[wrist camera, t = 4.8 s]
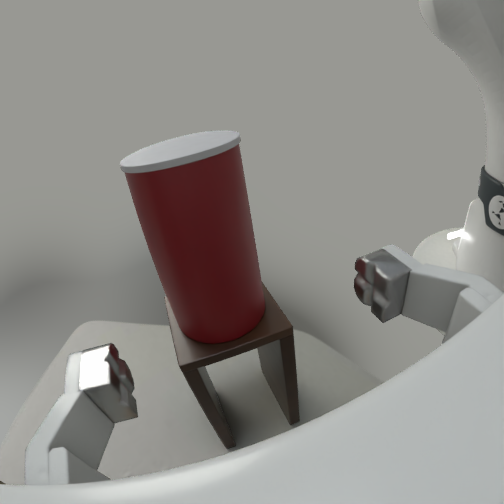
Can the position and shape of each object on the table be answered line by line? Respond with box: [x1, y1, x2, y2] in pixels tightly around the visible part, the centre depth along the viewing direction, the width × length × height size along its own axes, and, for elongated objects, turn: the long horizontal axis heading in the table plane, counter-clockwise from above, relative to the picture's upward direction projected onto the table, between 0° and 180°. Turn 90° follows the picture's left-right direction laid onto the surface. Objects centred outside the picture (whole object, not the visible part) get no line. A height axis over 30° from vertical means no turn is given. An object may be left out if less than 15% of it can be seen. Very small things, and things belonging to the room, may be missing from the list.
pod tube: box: [120, 130, 265, 343], centre depth 15 cm, size 5×5×9 cm
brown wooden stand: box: [164, 283, 300, 449], centre depth 20 cm, size 6×6×11 cm
